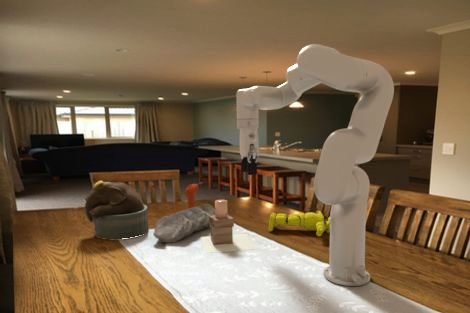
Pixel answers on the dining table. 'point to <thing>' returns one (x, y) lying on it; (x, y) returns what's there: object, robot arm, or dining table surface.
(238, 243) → the board
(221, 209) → the cylinder
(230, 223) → the slab top
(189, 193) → the toy drill
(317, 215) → the toy
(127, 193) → the brown blob in bowl
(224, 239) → the slab bottom
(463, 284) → the dining table surface
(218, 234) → the slab mid
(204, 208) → the decorative stone
